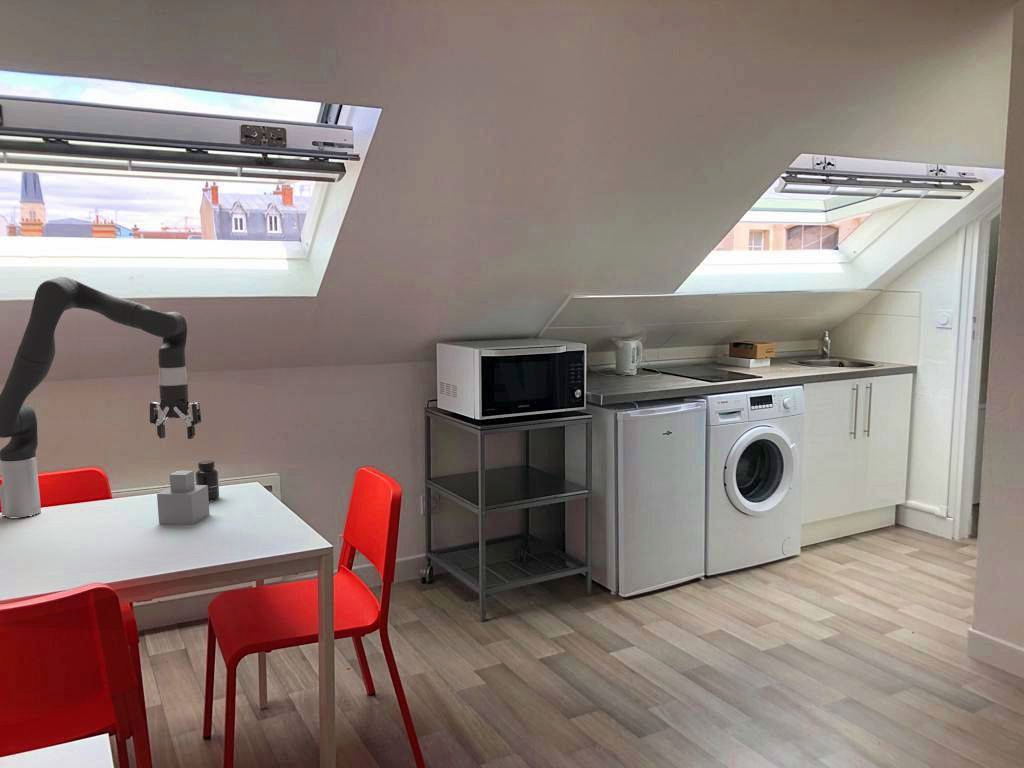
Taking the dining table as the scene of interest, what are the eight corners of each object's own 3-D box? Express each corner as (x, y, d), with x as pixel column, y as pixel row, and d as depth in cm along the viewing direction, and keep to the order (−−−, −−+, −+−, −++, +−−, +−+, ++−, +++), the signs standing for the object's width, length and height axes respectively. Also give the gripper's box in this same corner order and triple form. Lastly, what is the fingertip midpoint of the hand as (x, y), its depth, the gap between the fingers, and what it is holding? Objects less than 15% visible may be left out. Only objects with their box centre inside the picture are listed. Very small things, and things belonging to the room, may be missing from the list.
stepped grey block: (159, 523, 240) (155, 476, 238) (176, 513, 250) (173, 468, 248) (193, 524, 239) (190, 477, 237) (209, 514, 249) (206, 468, 247)
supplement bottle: (214, 502, 262) (212, 464, 261) (193, 502, 262) (190, 464, 261) (222, 496, 269) (220, 459, 267) (201, 496, 269) (199, 459, 268)
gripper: (142, 384, 237) (146, 440, 239) (190, 384, 235) (194, 441, 237) (156, 380, 244) (159, 435, 246) (203, 381, 243) (206, 436, 245)
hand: (176, 438), depth 242 cm, fingers open, 8 cm apart
